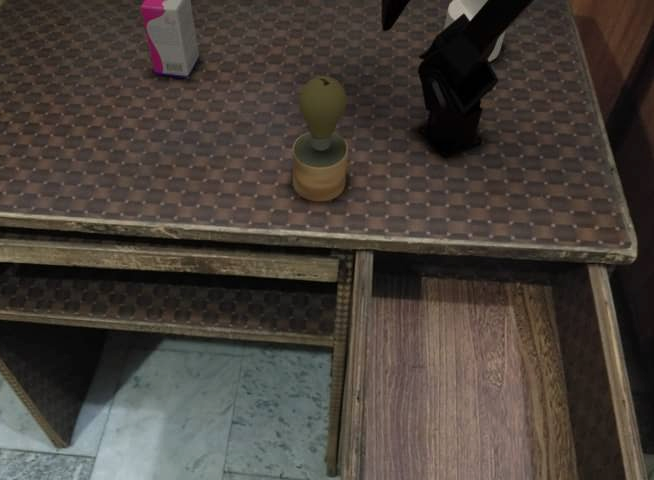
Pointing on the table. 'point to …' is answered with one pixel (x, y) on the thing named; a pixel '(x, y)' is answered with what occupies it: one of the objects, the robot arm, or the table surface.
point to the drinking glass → (470, 17)
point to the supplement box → (171, 36)
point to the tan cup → (319, 168)
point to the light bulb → (322, 109)
